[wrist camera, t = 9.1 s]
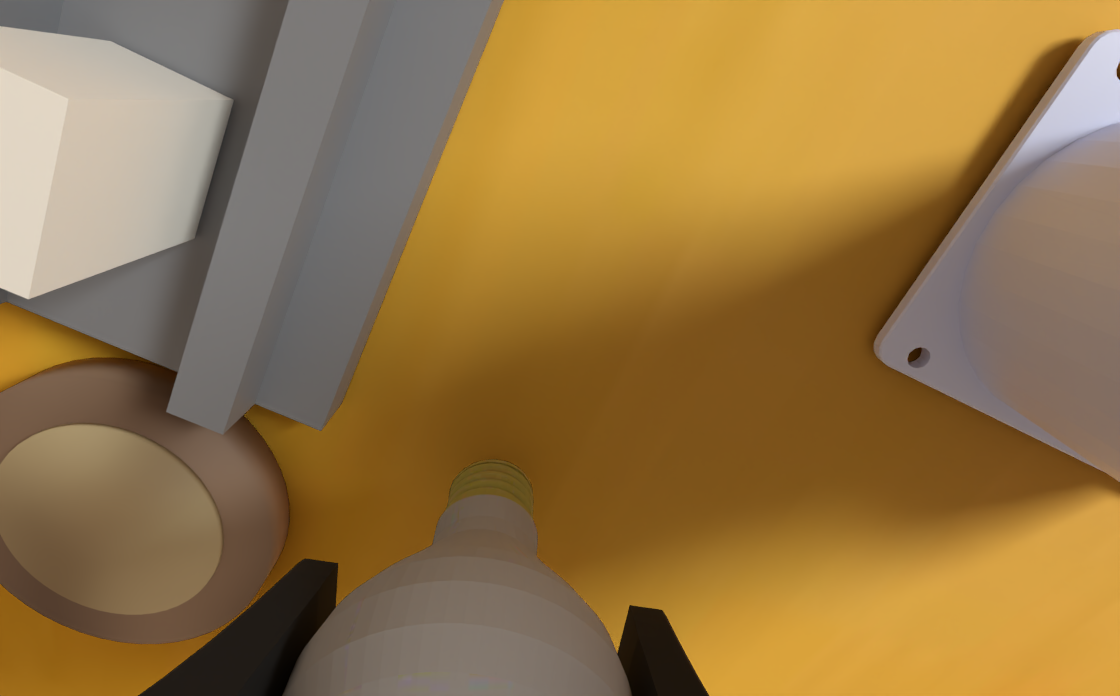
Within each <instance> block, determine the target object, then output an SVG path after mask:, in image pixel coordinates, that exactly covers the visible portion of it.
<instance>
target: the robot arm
mask: <svg viewBox="0 0 1120 696" xmlns="http://www.w3.org/2000/svg"><path fill="white" fill-rule="evenodd" d="M1119 62H1120V30H1119V29H1115V30H1108V31H1101V32H1096V33H1094V34H1092V35H1090V36H1088V37H1087V38H1086V39H1085V40H1084V41H1083V42H1082V43H1081V44H1080V45H1079V46H1078V47H1077V49H1076V50H1075V52H1074V53H1073V55H1072V56H1071V57H1070V59H1069V60H1068V62H1067V63H1066V65H1065V66H1064V68H1063V69H1062V70H1061V72H1060V73H1059V75H1058V76H1057V78H1056V79H1055V80H1054V82H1053V83H1052V85H1051V86H1050V88H1049V89H1048V91H1047V92H1046V93H1045V95H1044V96H1043V98H1042V99H1041V101H1040V102H1039V103H1038V105H1037V106H1036V108H1035V109H1034V111H1033V112H1032V114H1031V115H1030V116H1029V118H1028V119H1027V121H1026V122H1025V124H1024V125H1023V126H1022V128H1021V129H1020V131H1019V132H1018V134H1017V135H1016V137H1015V138H1014V139H1013V141H1012V142H1011V144H1010V145H1009V147H1008V148H1007V150H1006V151H1005V152H1004V154H1003V155H1002V157H1001V158H1000V160H999V161H998V162H997V164H996V165H995V167H994V168H993V170H992V171H991V173H990V174H989V175H988V177H987V178H986V180H985V181H984V183H983V184H982V185H981V187H980V188H979V190H978V191H977V193H976V194H975V196H974V197H973V198H972V200H971V201H970V203H969V204H968V206H967V207H966V208H965V210H964V211H963V213H962V214H961V216H960V217H959V219H958V220H957V221H956V223H955V224H954V226H953V227H952V229H951V230H950V232H949V233H948V234H947V236H946V237H945V239H944V240H943V242H942V243H941V244H940V246H939V247H938V249H937V250H936V252H935V253H934V255H933V256H932V257H931V259H930V260H929V262H928V263H927V265H926V266H925V267H924V269H923V270H922V272H921V273H920V275H919V276H918V278H917V279H916V280H915V282H914V283H913V285H912V286H911V288H910V289H909V290H908V292H907V293H906V295H905V296H904V298H903V299H902V301H901V302H900V303H899V305H898V306H897V308H896V309H895V311H894V312H893V314H892V315H891V316H890V318H889V319H888V321H887V322H886V324H885V325H884V326H883V328H882V329H881V331H880V332H879V334H878V335H877V337H876V339H875V341H874V352H875V355H876V357H877V358H878V359H880V360H881V361H882V362H883V363H885V364H886V365H887V366H889V367H891V368H893V369H895V370H897V371H899V372H901V373H903V374H905V375H907V376H909V377H911V378H913V379H915V380H917V381H919V382H921V383H923V384H925V385H927V386H929V387H931V388H933V389H936V390H938V391H940V392H942V393H944V394H946V395H948V396H950V397H952V398H954V399H956V400H958V401H960V402H962V403H964V404H966V405H968V406H970V407H972V408H974V409H976V410H978V411H980V412H982V413H985V414H987V415H989V416H991V417H993V418H995V419H997V420H999V421H1001V422H1003V423H1005V424H1007V425H1009V426H1011V427H1013V428H1015V429H1017V430H1019V431H1021V432H1023V433H1025V434H1027V435H1029V436H1031V437H1033V438H1036V439H1038V440H1040V441H1042V442H1044V443H1046V444H1048V445H1050V446H1052V447H1054V448H1056V449H1058V450H1060V451H1062V452H1064V453H1066V454H1068V455H1070V456H1072V457H1074V458H1076V459H1078V460H1080V461H1082V462H1084V463H1087V464H1089V465H1091V466H1093V467H1095V468H1097V469H1099V470H1101V471H1103V472H1105V473H1107V474H1108V475H1110V476H1111V477H1113V478H1114V479H1116V480H1117V481H1119V482H1120V80H1119V79H1118V77H1117V73H1116V69H1117V67H1118V64H1119ZM919 347H921V348H922V352H921V355H920V357H919V358H917V359H916V360H915V361H912V362H908V360H907V358H908V356H909V353H910V352H911V351H913V350H914V349H916V348H919ZM337 573H338V563H332V562H325V561H319V560H312V559H303V560H302V561H300V562H299V563H298V564H297V565H296V566H294V567H293V568H292V569H291V570H290V571H289V572H288V573H287V574H286V575H285V576H284V577H283V578H282V579H281V580H279V581H278V582H277V583H276V584H275V585H274V586H273V587H272V588H271V589H270V590H269V591H267V592H266V593H265V594H264V595H263V596H262V597H261V598H260V599H259V600H257V601H256V602H255V603H254V604H253V605H252V606H251V607H250V608H248V609H247V610H246V611H245V612H244V613H243V614H242V615H240V616H239V617H238V618H237V619H236V620H234V621H233V622H232V623H231V624H230V625H229V626H227V627H226V628H225V629H224V630H223V631H221V632H220V633H219V634H218V635H217V636H216V637H214V638H213V639H212V640H211V641H209V642H208V643H207V644H206V645H205V646H203V647H202V648H201V649H199V650H198V651H197V652H196V653H194V654H193V655H192V656H190V657H189V658H188V659H187V660H185V661H184V662H183V663H181V664H180V665H179V666H177V667H176V668H175V669H174V670H172V671H171V672H170V673H168V674H167V675H166V676H165V677H163V678H162V679H160V680H159V681H158V682H156V683H155V684H154V685H152V686H151V687H149V688H148V689H147V690H145V691H144V692H143V693H141V694H140V695H138V696H282V695H283V693H284V690H285V688H286V685H287V683H288V680H289V678H290V675H291V673H292V670H293V668H294V666H295V664H296V661H297V659H298V657H299V656H300V654H301V652H302V651H303V649H304V648H305V646H306V645H307V644H308V642H309V641H310V640H311V639H312V637H313V636H314V635H315V633H316V632H317V631H318V630H319V628H320V627H321V626H322V624H323V623H324V622H325V621H326V619H327V618H328V617H329V615H330V614H331V613H332V612H333V610H334V609H335V608H336V591H337ZM618 657H619V659H620V662H621V664H622V667H623V669H624V671H625V674H626V676H627V679H628V682H629V685H630V689H631V693H632V696H709V694H708V693H707V691H706V689H705V688H704V686H703V684H702V683H701V681H700V679H699V677H698V676H697V674H696V672H695V670H694V668H693V666H692V665H691V663H690V661H689V659H688V657H687V655H686V654H685V652H684V650H683V648H682V646H681V644H680V642H679V640H678V638H677V636H676V634H675V632H674V631H673V629H672V627H671V625H670V623H669V621H668V619H667V617H666V615H665V614H664V612H663V611H662V610H659V609H652V608H645V607H638V606H631V605H630V607H629V611H628V615H627V619H626V623H625V626H624V630H623V634H622V638H621V642H620V646H619V650H618Z"/></svg>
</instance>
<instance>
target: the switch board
mask: <svg viewBox="0 0 1120 696" xmlns="http://www.w3.org/2000/svg"><path fill="white" fill-rule="evenodd" d="M503 1H504V0H0V26H3V27H10V28H18V29H25V30H32V31H40V32H47V33H55V34H62V35H70V36H77V37H85V38H92V39H99V40H107V41H111V42H114V43H116V44H118V45H120V46H122V47H124V48H126V49H128V50H130V51H132V52H134V53H137V54H139V55H141V56H143V57H145V58H147V59H149V60H151V61H153V62H155V63H158V64H160V65H162V66H164V67H166V68H168V69H170V70H172V71H174V72H176V73H178V74H181V75H183V76H185V77H187V78H189V79H191V80H193V81H195V82H197V83H199V84H201V85H204V86H206V87H208V88H210V89H212V90H214V91H216V92H218V93H220V94H222V95H224V96H227V97H229V98H231V99H233V100H234V102H233V105H232V109H231V112H230V116H229V119H228V123H227V126H226V130H225V133H224V137H223V140H222V144H221V147H220V151H219V154H218V158H217V161H216V165H215V168H214V172H213V175H212V179H211V182H210V186H209V189H208V193H207V196H206V200H205V203H204V207H203V210H202V214H201V217H200V221H199V224H198V228H197V231H196V235H195V238H194V239H192V240H189V241H187V242H184V243H181V244H178V245H176V246H173V247H170V248H167V249H165V250H162V251H159V252H157V253H154V254H151V255H148V256H146V257H143V258H140V259H137V260H135V261H132V262H129V263H126V264H124V265H121V266H118V267H115V268H113V269H110V270H107V271H105V272H102V273H99V274H96V275H94V276H91V277H88V278H85V279H83V280H80V281H77V282H74V283H72V284H69V285H66V286H64V287H61V288H58V289H55V290H53V291H50V292H47V293H44V294H42V295H39V296H36V297H33V298H31V299H26V298H24V297H21V296H19V295H16V294H14V293H12V292H9V291H7V290H4V289H2V288H0V304H1V303H4V302H8V303H11V304H13V305H16V306H18V307H21V308H23V309H25V310H28V311H30V312H33V313H35V314H38V315H40V316H42V317H45V318H47V319H50V320H52V321H55V322H57V323H60V324H62V325H64V326H67V327H69V328H72V329H74V330H77V331H79V332H81V333H84V334H86V335H89V336H91V337H94V338H96V339H98V340H101V341H103V342H106V343H108V344H111V345H113V346H115V347H118V348H120V349H123V350H125V351H128V352H130V353H132V354H135V355H137V356H140V357H142V358H145V359H147V360H149V361H152V362H154V363H157V364H159V365H162V366H164V367H166V368H169V369H171V370H174V371H176V372H178V374H177V377H176V380H175V384H174V387H173V390H172V394H171V397H170V401H169V404H168V407H167V411H166V412H167V413H170V414H172V415H175V416H177V417H180V418H182V419H185V420H187V421H190V422H192V423H195V424H197V425H200V426H202V427H205V428H207V429H210V430H212V431H215V432H217V433H220V434H222V435H223V434H224V433H225V432H226V431H227V430H228V429H229V428H230V427H231V426H232V425H233V424H234V423H235V422H236V421H238V420H239V419H240V418H241V417H242V416H243V415H244V414H245V413H246V412H247V411H248V410H249V409H250V408H251V407H252V406H253V405H254V404H256V405H259V406H261V407H264V408H266V409H269V410H271V411H273V412H276V413H278V414H281V415H283V416H286V417H288V418H291V419H293V420H295V421H298V422H300V423H303V424H305V425H308V426H310V427H312V428H315V429H317V430H320V431H321V430H322V429H323V428H324V426H325V425H326V424H327V422H328V421H329V420H330V418H331V417H332V416H333V414H334V413H335V412H336V410H337V409H338V408H339V406H340V405H341V404H342V401H343V399H344V396H345V394H346V391H347V389H348V386H349V384H350V381H351V379H352V376H353V374H354V372H355V369H356V367H357V364H358V362H359V359H360V357H361V354H362V352H363V349H364V347H365V344H366V342H367V339H368V337H369V334H370V332H371V329H372V327H373V324H374V322H375V319H376V317H377V314H378V312H379V309H380V307H381V304H382V302H383V299H384V297H385V294H386V292H387V289H388V287H389V285H390V282H391V280H392V277H393V275H394V272H395V270H396V267H397V265H398V262H399V260H400V257H401V255H402V252H403V250H404V247H405V245H406V242H407V240H408V237H409V235H410V232H411V230H412V227H413V225H414V222H415V220H416V217H417V215H418V212H419V210H420V207H421V205H422V202H423V200H424V198H425V195H426V193H427V190H428V188H429V185H430V183H431V180H432V178H433V175H434V173H435V170H436V168H437V165H438V163H439V160H440V158H441V155H442V153H443V150H444V148H445V145H446V143H447V140H448V138H449V135H450V133H451V130H452V128H453V125H454V123H455V120H456V118H457V115H458V113H459V111H460V108H461V106H462V103H463V101H464V98H465V96H466V93H467V91H468V88H469V86H470V83H471V81H472V78H473V76H474V73H475V71H476V68H477V66H478V63H479V61H480V58H481V56H482V53H483V51H484V48H485V46H486V43H487V41H488V38H489V36H490V33H491V31H492V28H493V26H494V24H495V21H496V19H497V16H498V14H499V11H500V9H501V6H502V4H503Z"/></svg>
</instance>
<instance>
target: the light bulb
mask: <svg viewBox="0 0 1120 696" xmlns="http://www.w3.org/2000/svg"><path fill="white" fill-rule="evenodd" d="M533 503H534V501H533V490H532V485H531V483H530V481H529V479H528V477H527V476H526V474H525V473H524V472H523V471H522V470H521V469H520V468H519V467H517V466H516V465H514V464H512V463H510V462H507V461H503V460H497V459H488V460H482V461H478V462H476V463H473V464H471V465H470V466H468V467H466V468H464V469H463V470H462V471H461V472H460V473H459V474H458V475H457V476H456V478H455V479H454V480H453V483H452V485H451V488H450V492H449V500H448V505H447V508H446V510H445V512H444V513H443V514H442V516H441V517H440V519H439V521H438V523H437V526H436V531H435V535H434V540H433V544H432V545H431V546H429V547H428V548H426V549H424V550H422V551H420V552H418V553H416V554H413V555H411V556H409V557H407V558H405V559H403V560H401V561H399V562H397V563H395V564H393V565H391V566H390V567H388V568H387V569H385V570H383V571H382V572H380V573H379V574H377V575H376V576H374V577H373V578H371V579H370V580H368V581H367V582H365V583H364V584H362V585H360V586H359V587H357V588H356V589H355V590H354V591H352V592H351V593H350V594H349V595H348V596H346V597H345V598H344V599H343V600H342V601H341V602H340V603H339V604H338V605H337V606H336V608H335V609H334V610H333V612H332V613H331V614H330V615H329V617H328V618H327V619H326V621H325V622H324V623H323V624H322V626H321V627H320V628H319V630H318V631H317V632H316V633H315V635H314V636H313V637H312V639H311V640H310V641H309V642H308V644H307V645H306V646H305V648H304V649H303V651H302V652H301V654H300V656H299V657H298V659H297V661H296V664H295V666H294V668H293V670H292V673H291V675H290V678H289V680H288V683H287V685H286V688H285V690H284V693H283V695H282V696H632V693H631V689H630V685H629V682H628V679H627V676H626V674H625V671H624V669H623V667H622V664H621V662H620V659H619V657H618V654H617V652H616V650H615V647H614V645H613V642H612V640H611V638H610V635H609V633H608V632H607V630H606V628H605V626H604V625H603V623H602V622H601V620H600V619H599V618H598V616H597V615H596V614H595V612H594V611H593V610H592V609H591V608H590V607H589V606H588V605H587V604H586V603H585V601H584V600H583V599H582V598H581V597H580V596H579V595H578V594H577V593H576V592H575V591H574V589H573V588H572V587H571V586H570V585H569V584H568V583H567V582H565V581H564V580H563V579H562V578H561V577H560V576H559V575H557V574H556V573H555V572H554V571H552V570H551V569H550V568H549V567H547V566H546V565H545V564H544V563H543V562H542V561H541V560H540V559H539V558H538V557H537V541H538V535H537V529H536V526H535V523H534V521H533Z"/></svg>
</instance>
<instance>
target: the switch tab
mask: <svg viewBox="0 0 1120 696" xmlns="http://www.w3.org/2000/svg"><path fill="white" fill-rule="evenodd" d="M233 102H234V100H233V99H231V98H229V97H227V96H224V95H222V94H220V93H218V92H216V91H214V90H212V89H210V88H208V87H206V86H204V85H201V84H199V83H197V82H195V81H193V80H191V79H189V78H187V77H185V76H183V75H181V74H178V73H176V72H174V71H172V70H170V69H168V68H166V67H164V66H162V65H160V64H158V63H155V62H153V61H151V60H149V59H147V58H145V57H143V56H141V55H139V54H137V53H134V52H132V51H130V50H128V49H126V48H124V47H122V46H120V45H118V44H116V43H114V42H111V41H107V40H99V39H92V38H85V37H77V36H70V35H62V34H55V33H47V32H40V31H32V30H25V29H18V28H10V27H3V26H0V288H2V289H4V290H7V291H9V292H12V293H14V294H16V295H19V296H21V297H24V298H26V299H31V298H33V297H36V296H39V295H42V294H44V293H47V292H50V291H53V290H55V289H58V288H61V287H64V286H66V285H69V284H72V283H74V282H77V281H80V280H83V279H85V278H88V277H91V276H94V275H96V274H99V273H102V272H105V271H107V270H110V269H113V268H115V267H118V266H121V265H124V264H126V263H129V262H132V261H135V260H137V259H140V258H143V257H146V256H148V255H151V254H154V253H157V252H159V251H162V250H165V249H167V248H170V247H173V246H176V245H178V244H181V243H184V242H187V241H189V240H192V239H194V238H195V235H196V231H197V228H198V224H199V221H200V217H201V214H202V210H203V207H204V203H205V200H206V196H207V193H208V189H209V186H210V182H211V179H212V175H213V172H214V168H215V165H216V161H217V158H218V154H219V151H220V147H221V144H222V140H223V137H224V133H225V130H226V126H227V123H228V119H229V116H230V112H231V109H232V105H233Z"/></svg>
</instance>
